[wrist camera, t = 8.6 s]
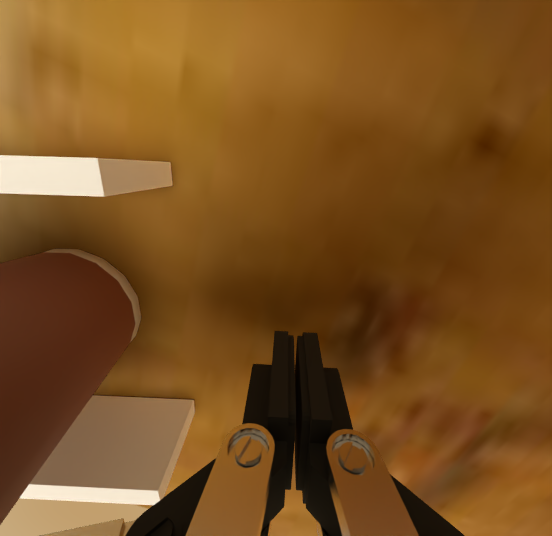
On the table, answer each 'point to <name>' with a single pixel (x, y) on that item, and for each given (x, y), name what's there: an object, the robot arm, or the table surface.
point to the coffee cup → (54, 352)
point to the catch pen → (99, 409)
